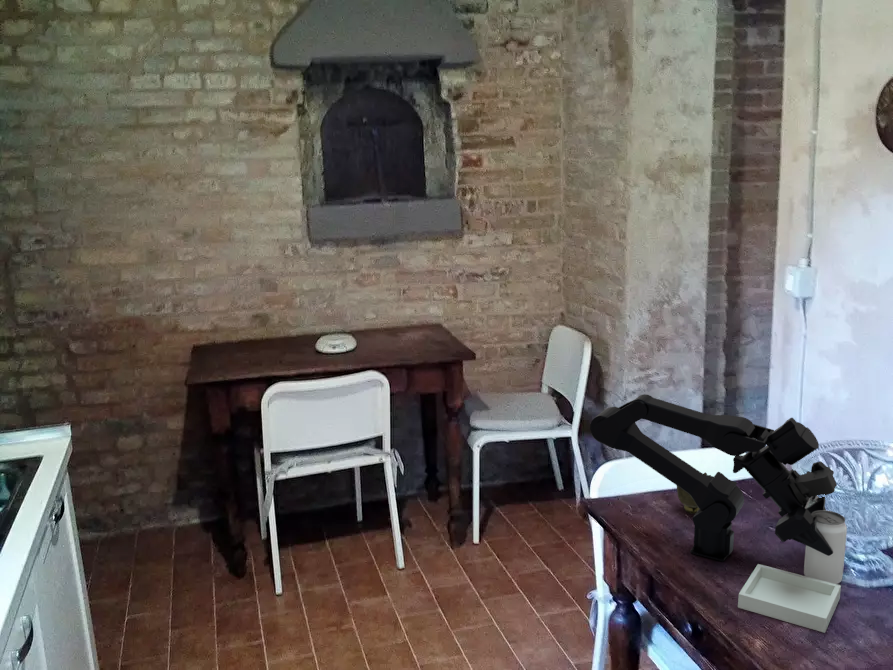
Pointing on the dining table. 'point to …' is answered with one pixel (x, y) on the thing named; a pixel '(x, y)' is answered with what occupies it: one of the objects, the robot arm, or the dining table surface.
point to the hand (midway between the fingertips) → (834, 546)
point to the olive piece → (687, 500)
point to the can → (835, 536)
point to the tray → (790, 597)
